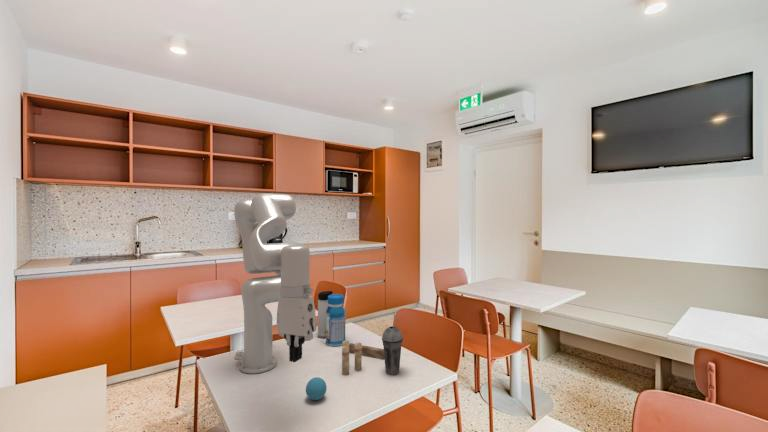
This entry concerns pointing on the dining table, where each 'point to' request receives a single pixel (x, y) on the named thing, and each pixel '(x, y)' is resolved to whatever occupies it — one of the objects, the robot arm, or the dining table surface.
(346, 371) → the pin front
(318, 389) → the ball
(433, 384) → the dining table surface
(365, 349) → the back rail
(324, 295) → the travel mug
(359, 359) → the pin
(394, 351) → the beverage cup
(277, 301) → the robot arm
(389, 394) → the dining table surface
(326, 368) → the dining table surface
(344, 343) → the pin
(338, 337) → the beverage bottle
